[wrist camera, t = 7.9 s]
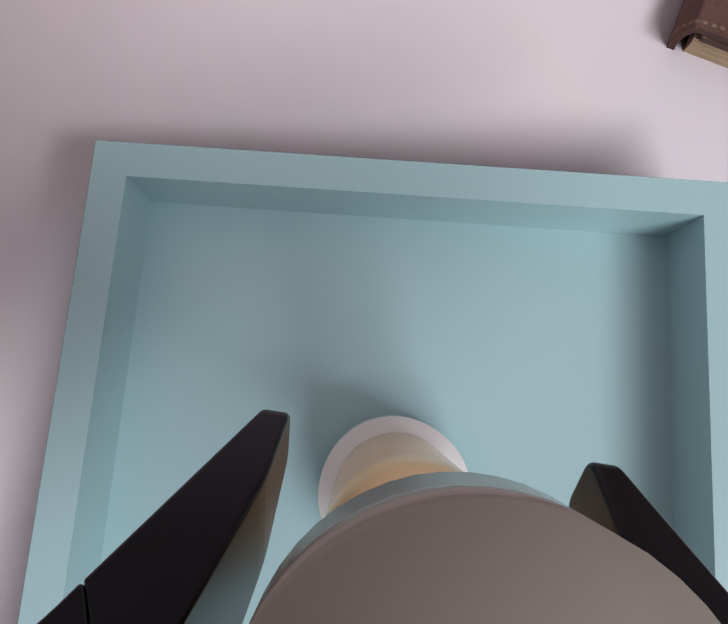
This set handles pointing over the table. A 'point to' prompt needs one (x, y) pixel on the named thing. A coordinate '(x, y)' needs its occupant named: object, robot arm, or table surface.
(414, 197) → the parts tray
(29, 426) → the table surface
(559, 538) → the fuse
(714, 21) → the notebook
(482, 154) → the table surface
